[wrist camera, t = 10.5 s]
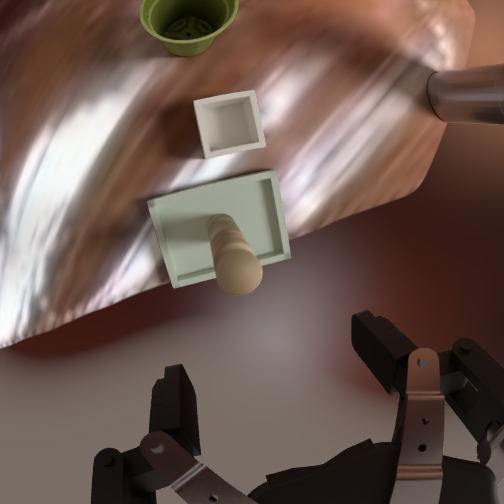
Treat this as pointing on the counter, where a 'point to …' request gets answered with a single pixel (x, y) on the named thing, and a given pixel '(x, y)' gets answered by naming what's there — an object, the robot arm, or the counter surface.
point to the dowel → (232, 257)
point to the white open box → (229, 123)
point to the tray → (208, 205)
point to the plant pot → (187, 22)
